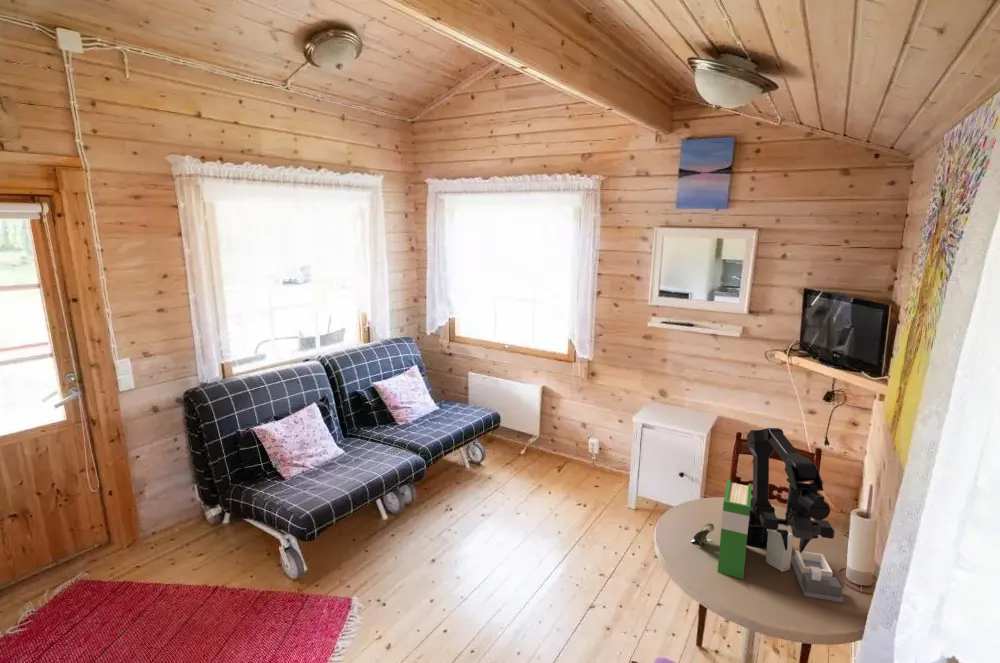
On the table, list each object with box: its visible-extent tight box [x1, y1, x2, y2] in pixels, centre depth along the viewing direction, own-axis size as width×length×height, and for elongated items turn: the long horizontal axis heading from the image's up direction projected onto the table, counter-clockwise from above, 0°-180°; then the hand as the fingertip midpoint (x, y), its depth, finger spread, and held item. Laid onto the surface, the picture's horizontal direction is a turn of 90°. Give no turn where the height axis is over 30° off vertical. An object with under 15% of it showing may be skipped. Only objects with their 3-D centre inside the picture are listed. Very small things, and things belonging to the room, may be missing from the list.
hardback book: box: [717, 478, 753, 580], centre depth 170 cm, size 18×7×24 cm, turn 153°
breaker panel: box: [790, 549, 844, 603], centre depth 163 cm, size 10×20×4 cm, turn 164°
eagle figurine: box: [690, 523, 715, 549], centre depth 178 cm, size 8×7×9 cm
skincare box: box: [765, 529, 794, 572], centre depth 168 cm, size 6×4×12 cm
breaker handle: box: [809, 566, 822, 582], centre depth 156 cm, size 2×3×3 cm
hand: (793, 550), depth 157 cm, fingers open, 4 cm apart
